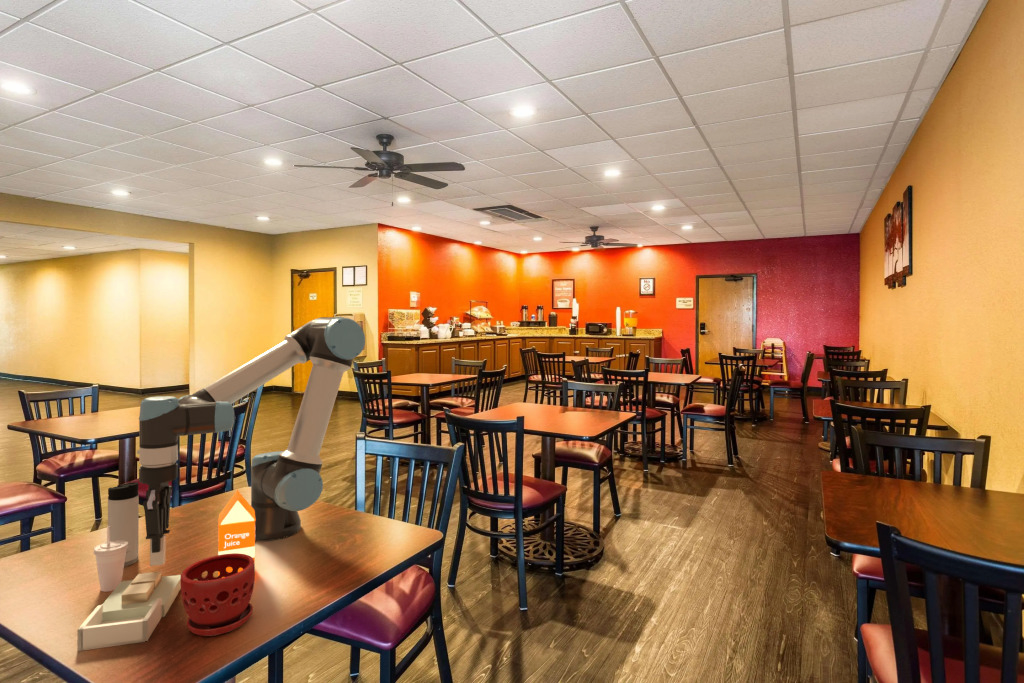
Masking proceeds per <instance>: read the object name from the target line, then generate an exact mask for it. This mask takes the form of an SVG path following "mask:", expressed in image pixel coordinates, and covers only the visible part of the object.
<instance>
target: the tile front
mask: <svg viewBox="0 0 1024 683" xmlns="http://www.w3.org/2000/svg"><path fill="white" fill-rule="evenodd" d="M153 592H154V582H153V583H144V584H135V585H129V586H128V588H127V589H126V590H125V591H124V593H123V594H122V604H121V605H124V604H133V603H141V602H147V601H148V600H149V598H150V597H151V595H152V594H153Z"/></svg>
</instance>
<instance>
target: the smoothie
mask: <svg viewBox="0 0 1024 683" xmlns="http://www.w3.org/2000/svg"><path fill="white" fill-rule="evenodd" d="M128 547H129V546H128V542H127V541H123V540H116V541H110V526H108V525H107V527H106V541H105V542H102V543H100V544H97V545H95V546H94V547H93V552H92V553H93V555H95V561H96V567H97V568H96V569H97V574H98V581H99V587H100V588H99V589H100V591H101V592H104V593H105V592H106V593H107V592H113V591H114V590H115V588H116V587H117V586H118V585H119V584H120V582H121V581H123V574H124V568H125V567H124V562H125V556H126V549H127V548H128Z"/></svg>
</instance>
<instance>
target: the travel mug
mask: <svg viewBox="0 0 1024 683" xmlns="http://www.w3.org/2000/svg"><path fill="white" fill-rule="evenodd" d="M139 494H140V493H139V482H126V483H121V484H117V485H116V486H112V487H109V488H107V495H108V496H107V527H108V526H110V541H116V540H123V541H127V542H128V546H129V547H128V548H127V549H126V556H125V562H124V568H125V567H128V566H132V565H133V564H135V563H137V562H138V561H139V529H140V526H139V523H140V522H139V520H140V519H139V516H140V515H139V509H140V508H139V505H140V502H139V500H140V499H139Z"/></svg>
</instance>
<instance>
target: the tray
mask: <svg viewBox="0 0 1024 683" xmlns="http://www.w3.org/2000/svg"><path fill="white" fill-rule="evenodd" d="M162 618H163V617H162V598H157V599H156V601H155V603H154V604H153V606H152V607H151V609H150V610H149V612H148V613H147V615H146V616H145V617H139V618H131V619H123V620H115V621H107V622H103V605H102V604H98V605H97V606H96V607H95V608H94V609H93V610H92V612H91V613H90V614H89V615H88V616H87V618H86V619H85V620H84V621H83V623H82V624H81V625H80V626H79V627H78V628H77V631H76V632H77V634H76V635H77V641H76V642H77V643H76V644H77V646H76V648H77V652H80V651H81V652H82V651H89V650H97V649H102V648H103V649H105V648H109V647H110V648H111V647H117V646H123V645H124V646H125V645H132V644H138V643H146V642H145V641H147V642H148V641H149V639H150V637H151V636H152V634H153V632H154V631H155V629H156V628H157V625H158V624H159V623H160V621H161V619H162Z"/></svg>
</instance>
